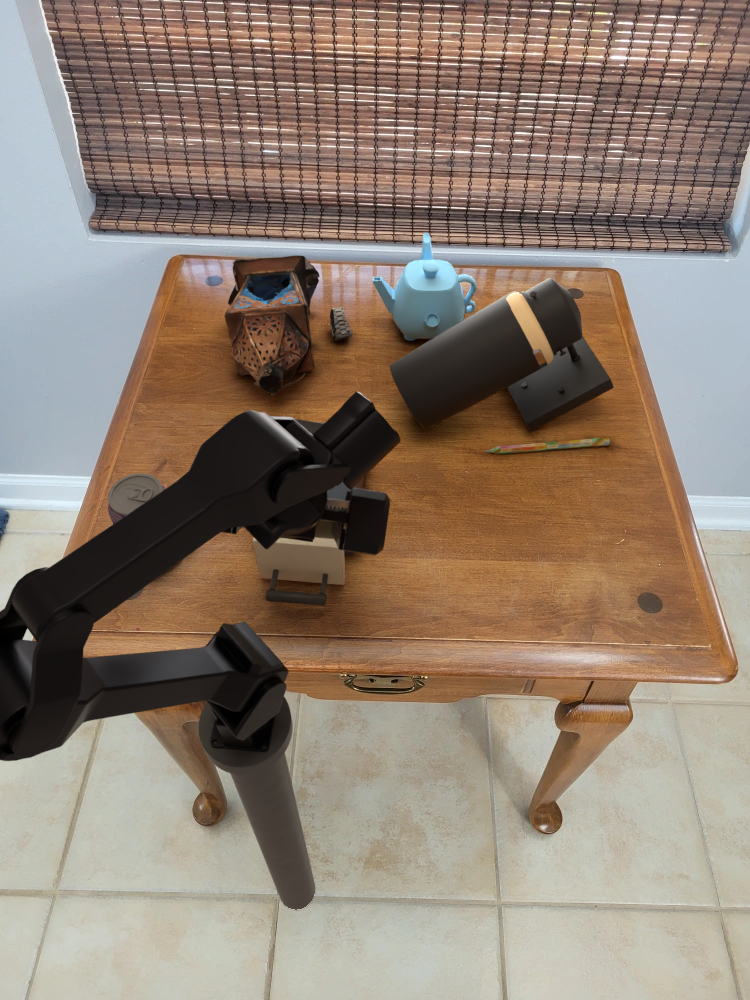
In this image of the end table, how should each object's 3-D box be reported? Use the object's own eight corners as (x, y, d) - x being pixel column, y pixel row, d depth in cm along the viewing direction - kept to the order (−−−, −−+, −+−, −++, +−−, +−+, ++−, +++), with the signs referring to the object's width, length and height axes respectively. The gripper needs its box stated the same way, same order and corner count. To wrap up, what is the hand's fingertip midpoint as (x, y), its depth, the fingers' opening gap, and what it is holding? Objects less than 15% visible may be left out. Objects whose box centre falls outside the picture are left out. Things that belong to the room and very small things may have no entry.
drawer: (340, 615, 91) (338, 579, 85) (253, 607, 91) (245, 571, 85) (355, 505, 101) (354, 466, 95) (277, 499, 102) (271, 460, 96)
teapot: (363, 321, 127) (363, 261, 118) (422, 287, 133) (426, 228, 124) (428, 367, 120) (433, 307, 111) (488, 330, 126) (497, 270, 117)
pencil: (485, 457, 108) (609, 447, 109) (486, 451, 107) (611, 441, 108) (483, 450, 109) (606, 440, 110) (484, 445, 108) (608, 435, 109)
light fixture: (379, 344, 109) (544, 246, 103) (428, 413, 122) (577, 330, 116) (403, 407, 101) (584, 305, 95) (453, 473, 114) (614, 387, 108)
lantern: (273, 343, 133) (274, 443, 116) (199, 284, 123) (189, 384, 106) (342, 285, 126) (354, 383, 109) (270, 218, 116) (271, 313, 99)
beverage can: (192, 533, 99) (173, 472, 90) (177, 579, 95) (156, 520, 85) (138, 528, 100) (114, 467, 90) (121, 574, 95) (94, 515, 86)
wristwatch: (330, 343, 125) (336, 338, 121) (327, 311, 125) (333, 305, 120) (349, 342, 126) (355, 337, 121) (346, 310, 126) (352, 304, 121)
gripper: (407, 431, 70) (386, 459, 86) (202, 397, 68) (218, 432, 84) (391, 552, 69) (372, 559, 84) (181, 520, 67) (201, 533, 82)
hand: (291, 518), depth 84 cm, fingers open, 9 cm apart
